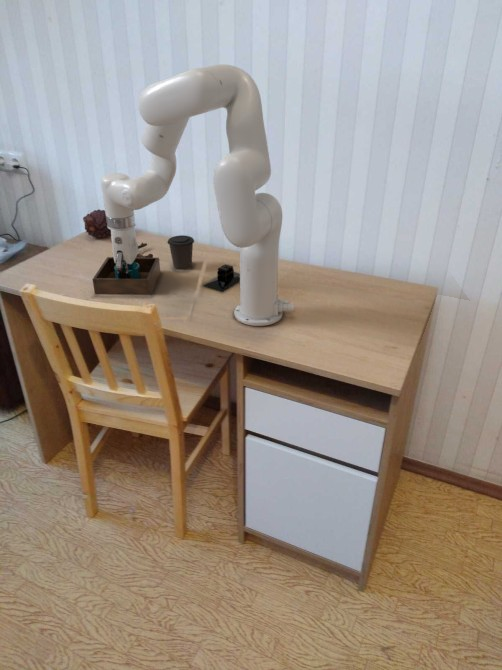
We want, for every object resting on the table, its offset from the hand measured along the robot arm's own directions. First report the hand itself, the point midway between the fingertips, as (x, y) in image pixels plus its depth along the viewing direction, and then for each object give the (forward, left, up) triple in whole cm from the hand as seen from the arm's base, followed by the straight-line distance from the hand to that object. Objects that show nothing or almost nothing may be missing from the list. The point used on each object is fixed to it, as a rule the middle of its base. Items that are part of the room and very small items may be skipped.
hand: (128, 279), depth 154 cm
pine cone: (+19, -40, -2) cm, 44 cm away
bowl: (0, 0, -1) cm, 1 cm away
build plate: (-28, -3, -2) cm, 28 cm away
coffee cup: (-14, -12, -2) cm, 19 cm away
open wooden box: (0, 0, -2) cm, 2 cm away
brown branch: (+3, -19, -2) cm, 19 cm away
